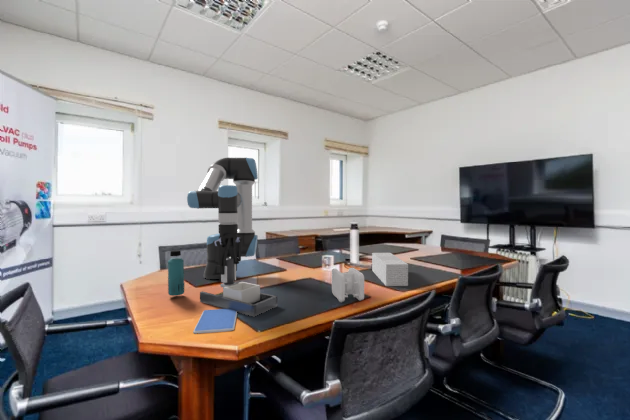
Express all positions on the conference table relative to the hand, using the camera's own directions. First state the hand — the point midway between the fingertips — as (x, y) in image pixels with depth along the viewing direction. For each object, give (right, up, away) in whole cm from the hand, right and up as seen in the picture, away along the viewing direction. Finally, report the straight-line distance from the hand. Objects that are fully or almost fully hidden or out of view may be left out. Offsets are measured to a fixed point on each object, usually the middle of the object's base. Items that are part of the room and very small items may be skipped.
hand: (228, 280), depth 124 cm
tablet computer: (+1, -10, -19) cm, 21 cm away
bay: (+4, -9, -3) cm, 10 cm away
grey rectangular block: (+74, -8, +39) cm, 84 cm away
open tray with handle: (+4, -7, -3) cm, 9 cm away
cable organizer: (+49, -9, +6) cm, 50 cm away
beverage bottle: (-24, -9, +6) cm, 27 cm away
